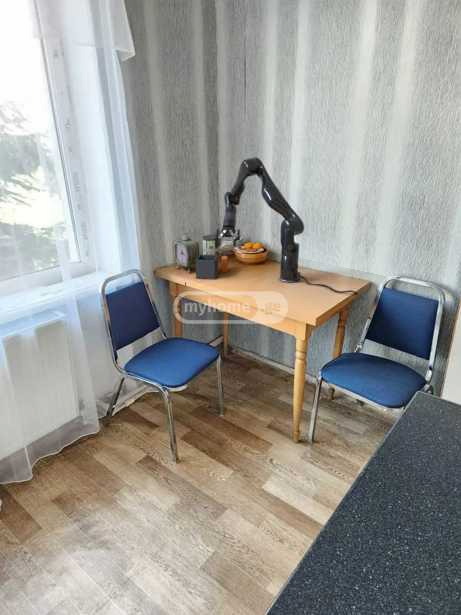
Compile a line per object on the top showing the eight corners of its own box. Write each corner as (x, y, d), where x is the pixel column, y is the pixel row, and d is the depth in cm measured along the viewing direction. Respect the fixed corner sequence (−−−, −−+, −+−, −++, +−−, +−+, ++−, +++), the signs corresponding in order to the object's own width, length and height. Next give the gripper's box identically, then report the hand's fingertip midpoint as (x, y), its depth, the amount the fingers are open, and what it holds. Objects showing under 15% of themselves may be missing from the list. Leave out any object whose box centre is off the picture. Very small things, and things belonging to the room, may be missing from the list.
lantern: (214, 255, 255) (214, 234, 249) (222, 259, 247) (221, 237, 241) (200, 258, 250) (199, 236, 244) (207, 262, 242) (206, 239, 236)
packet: (227, 269, 230) (227, 256, 227) (226, 272, 226) (226, 258, 222) (222, 269, 230) (222, 255, 227) (221, 271, 226) (220, 258, 223)
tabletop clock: (173, 268, 232) (171, 226, 221) (186, 265, 237) (184, 223, 227) (188, 274, 222) (186, 230, 212) (201, 270, 228) (199, 228, 217)
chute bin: (218, 273, 224) (217, 255, 220) (214, 279, 215) (214, 260, 210) (200, 272, 225) (199, 254, 221) (196, 278, 216) (195, 260, 212)
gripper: (217, 217, 234) (213, 241, 228) (240, 218, 232) (238, 242, 226) (218, 224, 241) (215, 248, 235) (241, 225, 239) (239, 248, 233)
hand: (226, 245), depth 231 cm, fingers open, 8 cm apart
